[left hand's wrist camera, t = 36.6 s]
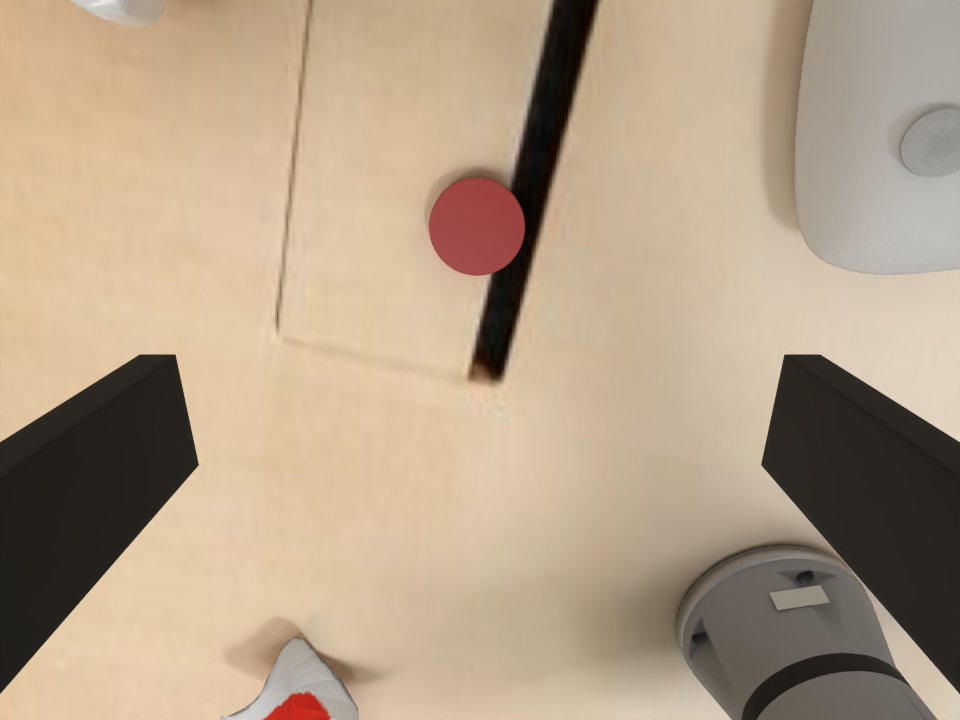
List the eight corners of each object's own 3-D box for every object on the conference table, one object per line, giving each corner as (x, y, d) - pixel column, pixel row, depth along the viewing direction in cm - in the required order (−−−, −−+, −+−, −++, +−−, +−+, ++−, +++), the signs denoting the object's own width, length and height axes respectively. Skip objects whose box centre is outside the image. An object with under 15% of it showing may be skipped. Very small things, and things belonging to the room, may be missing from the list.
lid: (542, 219, 35) (544, 222, 34) (482, 288, 37) (482, 294, 36) (471, 155, 34) (471, 156, 33) (412, 230, 36) (409, 234, 34)
